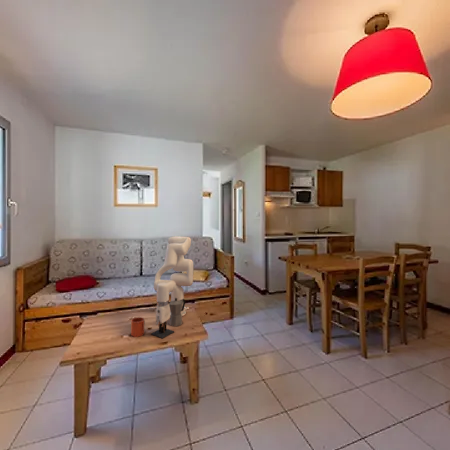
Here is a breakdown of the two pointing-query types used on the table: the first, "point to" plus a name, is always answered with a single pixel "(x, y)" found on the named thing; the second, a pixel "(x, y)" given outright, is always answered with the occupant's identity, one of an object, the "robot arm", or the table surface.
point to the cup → (137, 326)
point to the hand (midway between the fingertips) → (162, 331)
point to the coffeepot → (176, 312)
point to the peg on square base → (162, 335)
